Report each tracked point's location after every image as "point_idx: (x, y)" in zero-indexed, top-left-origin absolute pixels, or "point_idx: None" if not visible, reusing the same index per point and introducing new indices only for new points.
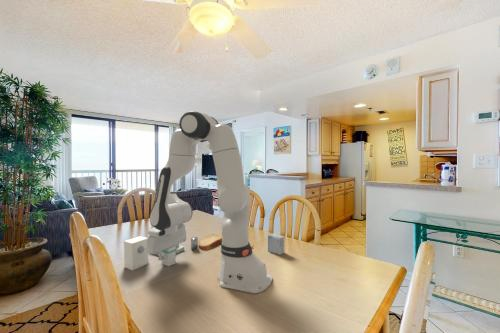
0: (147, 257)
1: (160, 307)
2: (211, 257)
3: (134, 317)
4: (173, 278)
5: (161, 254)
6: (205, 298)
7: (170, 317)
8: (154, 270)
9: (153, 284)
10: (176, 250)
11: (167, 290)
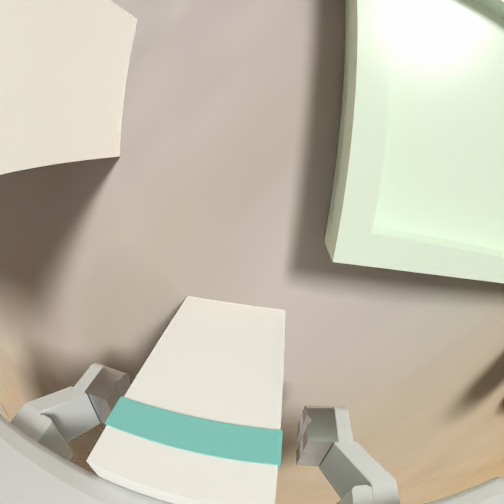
0: (60, 161)
1: None
2: (407, 471)
3: (3, 404)
4: None
5: (143, 365)
6: None
7: None
8: (85, 321)
9: (46, 391)
10: (322, 463)
11: (75, 441)
